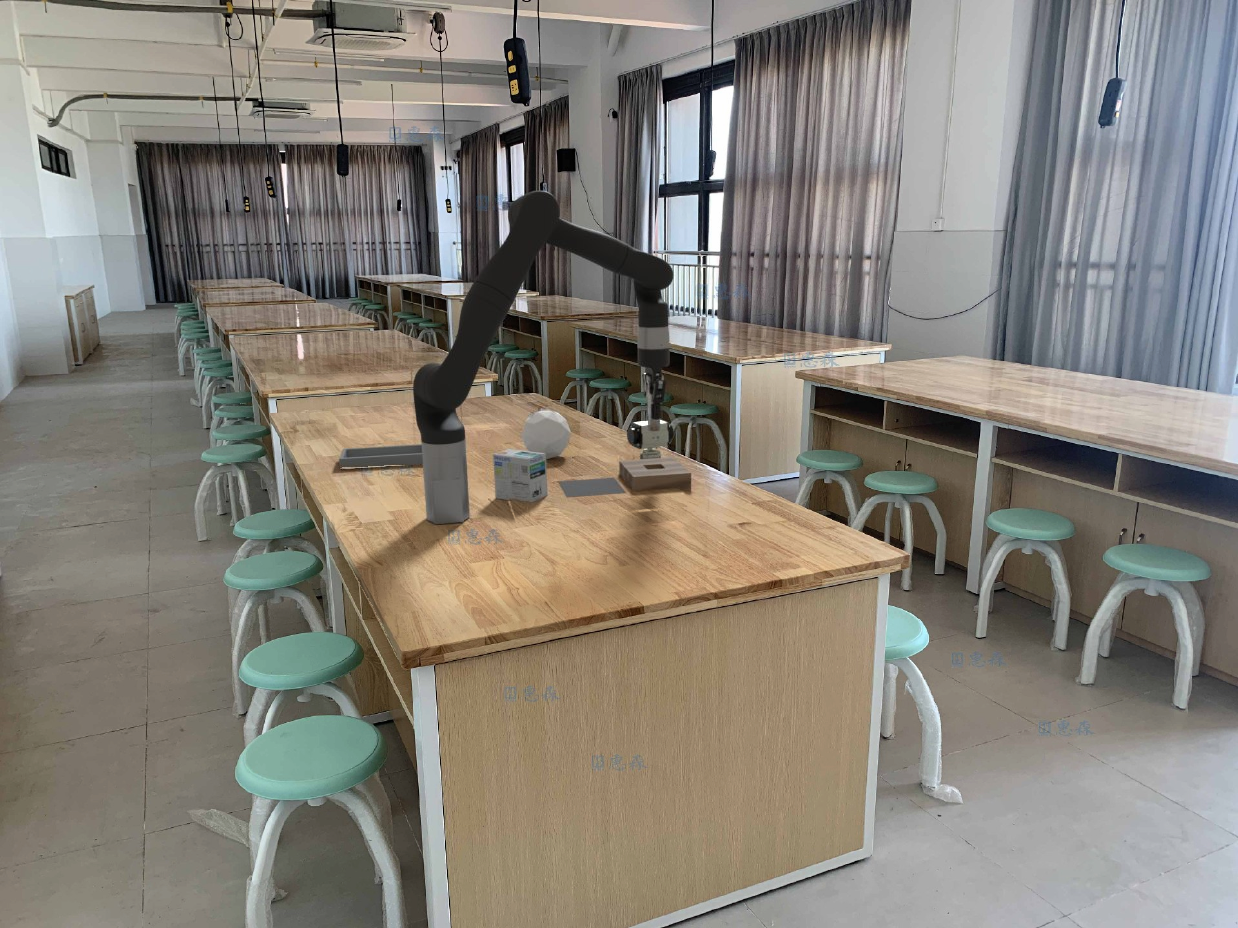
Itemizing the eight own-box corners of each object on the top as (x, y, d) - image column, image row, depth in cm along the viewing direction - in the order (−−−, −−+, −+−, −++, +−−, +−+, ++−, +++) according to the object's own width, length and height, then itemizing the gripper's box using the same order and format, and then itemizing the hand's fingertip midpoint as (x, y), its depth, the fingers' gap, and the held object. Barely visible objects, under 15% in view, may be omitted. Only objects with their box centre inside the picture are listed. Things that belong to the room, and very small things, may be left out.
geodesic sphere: (528, 446, 234) (553, 401, 236) (500, 438, 244) (524, 395, 247) (564, 471, 243) (588, 427, 246) (536, 462, 254) (558, 420, 256)
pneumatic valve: (626, 463, 239) (626, 419, 236) (665, 458, 244) (665, 414, 241) (636, 468, 234) (635, 422, 231) (675, 462, 239) (675, 418, 236)
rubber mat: (626, 495, 210) (626, 492, 210) (566, 499, 207) (566, 497, 207) (614, 479, 223) (614, 477, 223) (558, 483, 220) (557, 481, 220)
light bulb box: (548, 497, 209) (547, 452, 206) (531, 505, 203) (529, 458, 201) (511, 491, 214) (509, 447, 212) (494, 498, 209) (491, 453, 206)
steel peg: (661, 430, 216) (661, 389, 213) (649, 431, 215) (649, 390, 213) (658, 428, 219) (658, 387, 216) (646, 429, 218) (646, 388, 215)
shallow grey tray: (429, 464, 241) (428, 453, 240) (340, 470, 236) (339, 459, 235) (429, 454, 252) (428, 443, 251) (343, 459, 247) (342, 448, 247)
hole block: (691, 489, 214) (691, 472, 213) (633, 493, 211) (633, 476, 210) (673, 472, 229) (673, 457, 228) (619, 476, 226) (619, 460, 225)
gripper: (677, 348, 206) (676, 422, 210) (661, 341, 219) (661, 411, 224) (645, 350, 204) (645, 424, 209) (631, 343, 218) (632, 413, 222)
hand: (653, 417), depth 216 cm, fingers closed on steel peg, 3 cm apart
